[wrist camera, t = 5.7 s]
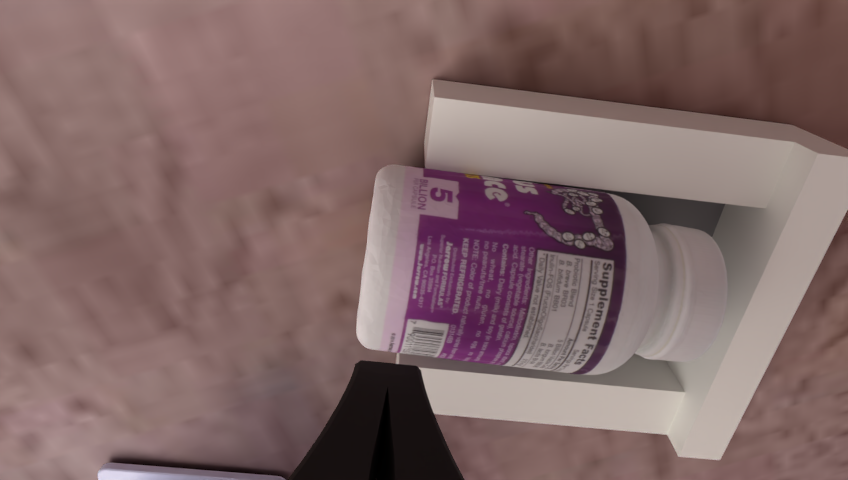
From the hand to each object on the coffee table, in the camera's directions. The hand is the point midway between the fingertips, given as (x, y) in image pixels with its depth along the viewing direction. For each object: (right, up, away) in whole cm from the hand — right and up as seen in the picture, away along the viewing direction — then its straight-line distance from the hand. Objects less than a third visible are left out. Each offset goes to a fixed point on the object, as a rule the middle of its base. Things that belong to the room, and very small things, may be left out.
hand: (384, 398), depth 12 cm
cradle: (+5, +3, +7) cm, 10 cm away
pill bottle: (-1, +3, +4) cm, 5 cm away
